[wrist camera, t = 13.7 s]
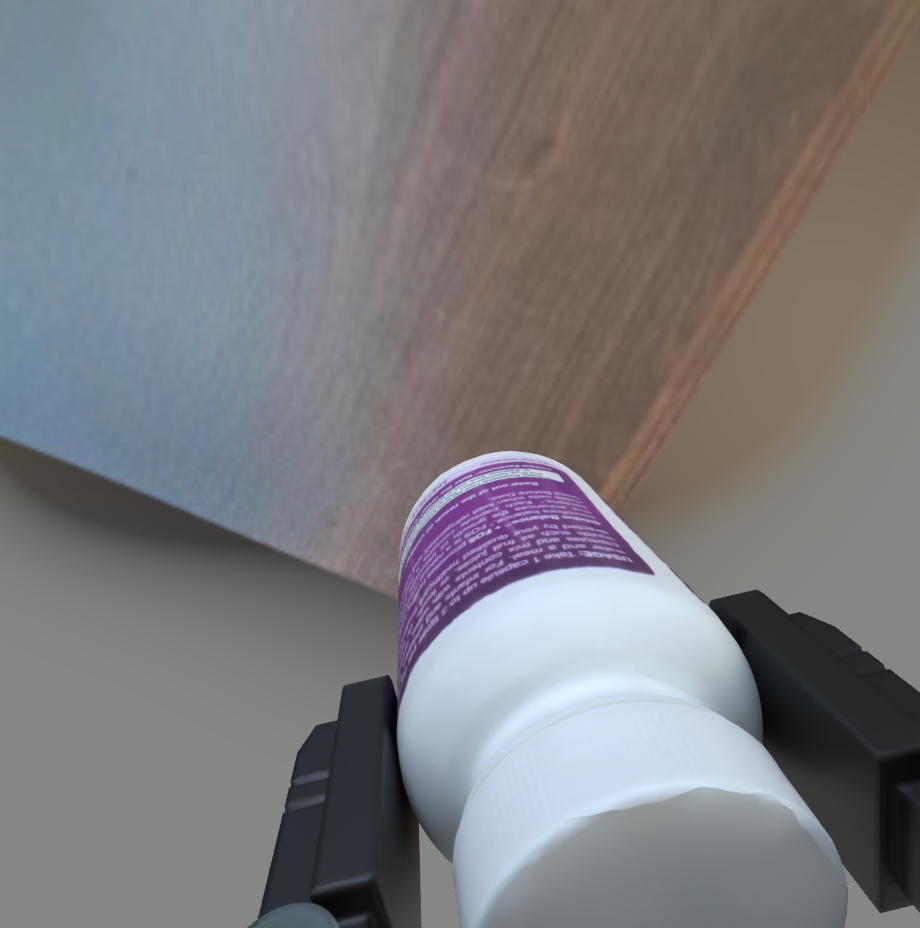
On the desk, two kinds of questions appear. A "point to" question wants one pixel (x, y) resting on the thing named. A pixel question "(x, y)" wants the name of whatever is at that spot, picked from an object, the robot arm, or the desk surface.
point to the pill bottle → (587, 722)
